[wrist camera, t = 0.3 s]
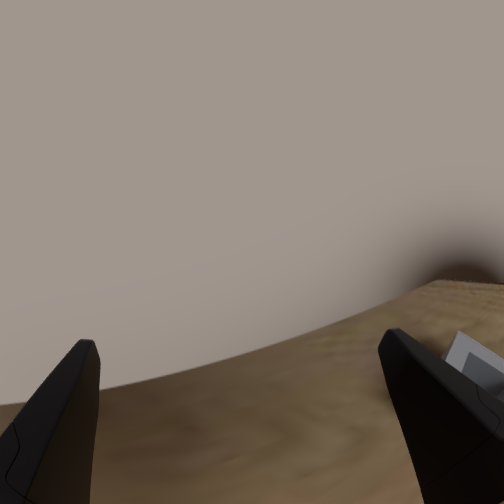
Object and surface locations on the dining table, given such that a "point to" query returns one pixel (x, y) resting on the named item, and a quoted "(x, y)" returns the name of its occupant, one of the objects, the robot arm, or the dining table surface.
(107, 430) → the dining table surface
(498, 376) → the socket
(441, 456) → the robot arm
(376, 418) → the dining table surface
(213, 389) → the dining table surface
